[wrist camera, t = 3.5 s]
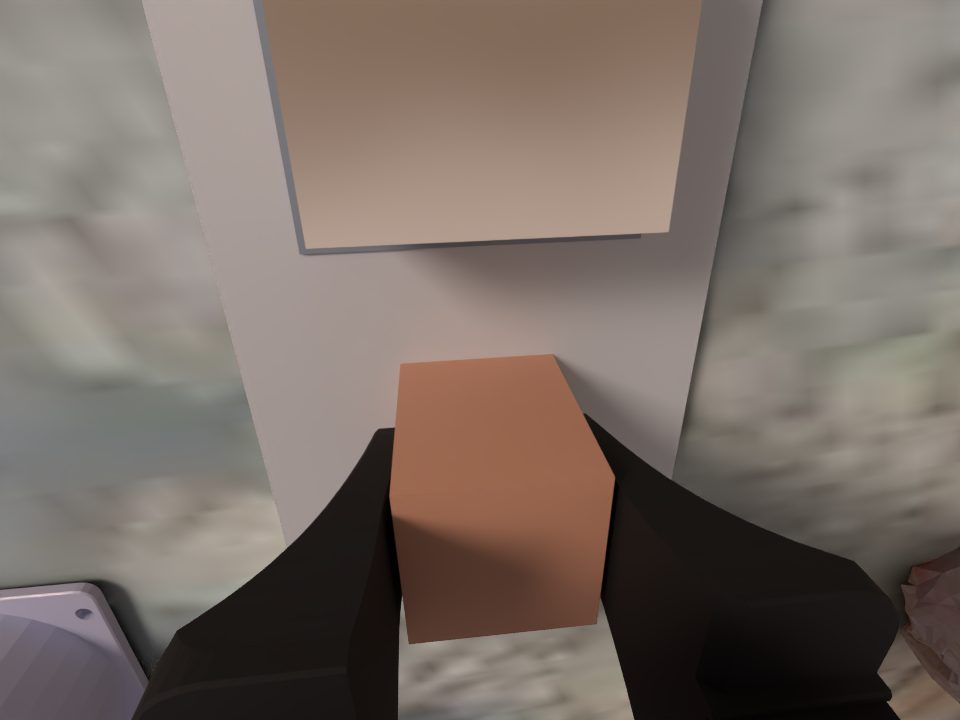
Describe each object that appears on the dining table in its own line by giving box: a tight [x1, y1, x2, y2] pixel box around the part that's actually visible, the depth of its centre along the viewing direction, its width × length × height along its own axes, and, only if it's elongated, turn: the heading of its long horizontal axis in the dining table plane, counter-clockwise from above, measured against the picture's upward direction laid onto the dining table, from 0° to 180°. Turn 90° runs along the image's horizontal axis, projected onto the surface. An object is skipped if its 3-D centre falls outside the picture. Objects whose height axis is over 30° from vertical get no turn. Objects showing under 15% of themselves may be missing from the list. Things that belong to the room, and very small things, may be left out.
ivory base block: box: [262, 0, 702, 249], centre depth 9 cm, size 6×6×4 cm
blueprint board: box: [142, 0, 763, 546], centre depth 12 cm, size 18×12×1 cm, turn 1°
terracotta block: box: [389, 354, 615, 644], centre depth 12 cm, size 4×4×5 cm
